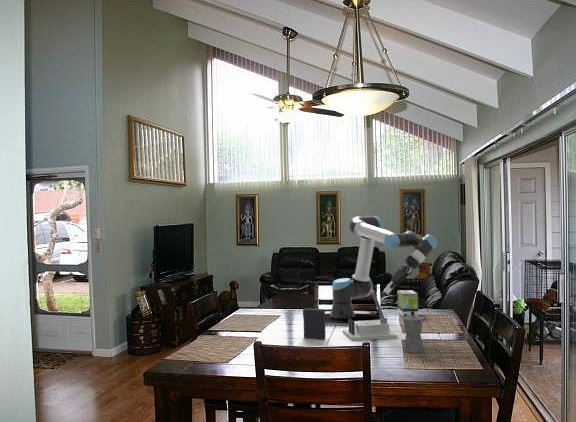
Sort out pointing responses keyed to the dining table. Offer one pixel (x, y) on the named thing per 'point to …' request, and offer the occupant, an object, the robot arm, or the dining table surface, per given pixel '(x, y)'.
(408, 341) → the coffeepot
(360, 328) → the knife switch
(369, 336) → the board
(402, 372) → the dining table surface
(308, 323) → the calculator
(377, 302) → the lever
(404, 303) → the tea box
